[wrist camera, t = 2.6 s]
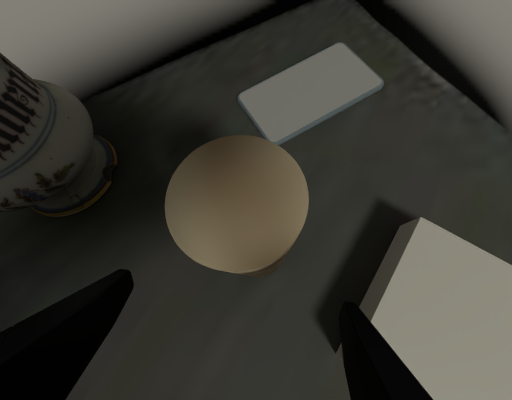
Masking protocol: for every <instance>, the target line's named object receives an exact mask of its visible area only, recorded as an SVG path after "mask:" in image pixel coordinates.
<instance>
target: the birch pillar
mask: <svg viewBox="0 0 512 400" xmlns="http://www.w3.org/2000/svg"><path fill="white" fill-rule="evenodd" d="M308 204H309V198H308V188H307V184H306V180H305V177H304V175H303V173H302V171H301V169H300V167H299V166H298V164H297V163H296V161H295V160H294V159H293V158H292V157H291V155H290V154H288V153H287V152H286V151H285V150H284V149H282V148H281V147H279V146H278V145H276V144H274V143H272V142H270V141H268V140H265V139H263V138H259V137H255V136H248V135H234V136H226V137H222V138H218V139H215V140H212V141H210V142H208V143H206V144H204V145H202V146H200V147H199V148H197V149H196V150H194V151H193V152H192V153H190V154H189V155H188V156H187V157H186V158H185V159H184V160H183V161H182V163H181V164H180V165H179V166H178V168H177V169H176V171H175V172H174V174H173V176H172V178H171V180H170V182H169V185H168V188H167V192H166V197H165V217H166V221H167V225H168V228H169V231H170V233H171V235H172V237H173V239H174V241H175V242H176V244H177V245H178V246H179V247H180V249H181V250H182V251H183V252H184V253H185V254H186V255H187V256H189V257H190V258H192V259H193V260H194V261H196V262H198V263H200V264H202V265H203V266H206V267H209V268H212V269H216V270H221V271H226V272H231V273H237V274H242V275H247V276H253V277H262V276H266V275H268V274H270V273H272V272H274V271H275V270H276V269H277V268H278V267H279V266H280V265H281V263H282V262H283V260H284V258H285V257H286V255H287V253H288V252H289V250H290V248H291V247H292V245H293V243H294V242H295V240H296V238H297V237H298V235H299V233H300V232H301V230H302V227H303V225H304V223H305V220H306V216H307V212H308Z"/></svg>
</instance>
